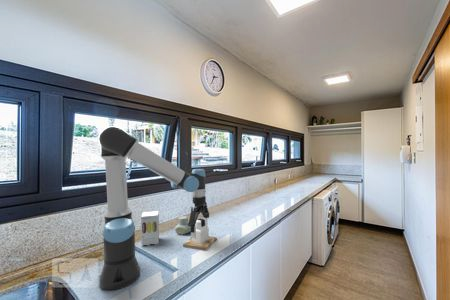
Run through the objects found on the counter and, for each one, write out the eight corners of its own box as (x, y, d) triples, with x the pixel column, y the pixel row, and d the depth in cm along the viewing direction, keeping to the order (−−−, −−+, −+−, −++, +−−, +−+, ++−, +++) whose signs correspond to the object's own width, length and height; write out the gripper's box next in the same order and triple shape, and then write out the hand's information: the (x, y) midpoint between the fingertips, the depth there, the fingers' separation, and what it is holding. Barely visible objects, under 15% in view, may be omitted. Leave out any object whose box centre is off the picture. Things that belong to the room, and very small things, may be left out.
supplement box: (140, 246, 114) (140, 216, 114) (142, 240, 122) (142, 212, 123) (158, 244, 116) (158, 214, 116) (159, 237, 125) (158, 210, 125)
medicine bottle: (199, 237, 121) (199, 216, 121) (209, 239, 117) (208, 218, 117) (191, 241, 115) (190, 220, 115) (200, 244, 111) (200, 222, 111)
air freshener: (193, 231, 134) (193, 216, 135) (188, 236, 126) (188, 220, 127) (179, 229, 137) (178, 215, 137) (172, 234, 129) (172, 219, 130)
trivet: (205, 250, 107) (205, 247, 107) (183, 246, 112) (183, 243, 112) (216, 239, 120) (216, 236, 120) (195, 236, 125) (195, 233, 125)
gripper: (193, 201, 103) (194, 243, 103) (214, 192, 126) (214, 226, 126) (181, 200, 106) (181, 241, 106) (203, 191, 129) (204, 225, 129)
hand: (199, 233), depth 116 cm, fingers open, 13 cm apart
